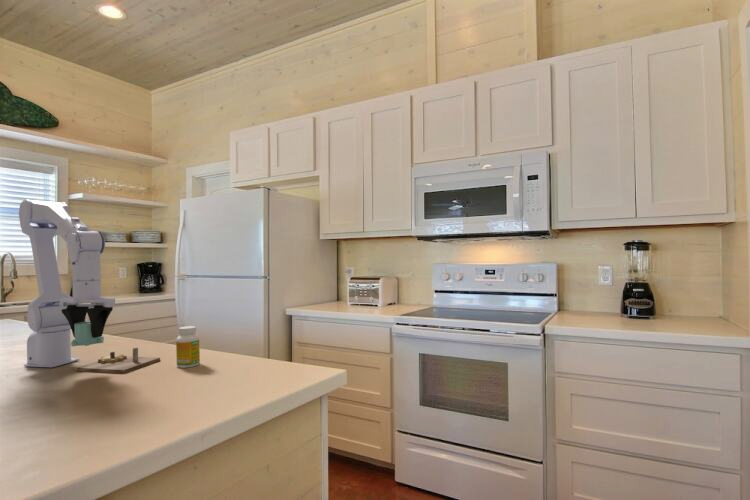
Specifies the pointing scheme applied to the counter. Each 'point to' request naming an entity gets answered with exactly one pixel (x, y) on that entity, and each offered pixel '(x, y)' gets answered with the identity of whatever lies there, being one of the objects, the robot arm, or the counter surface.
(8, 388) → the counter surface
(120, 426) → the counter surface
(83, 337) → the gear
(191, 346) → the supplement bottle
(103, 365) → the gear board
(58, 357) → the robot arm
